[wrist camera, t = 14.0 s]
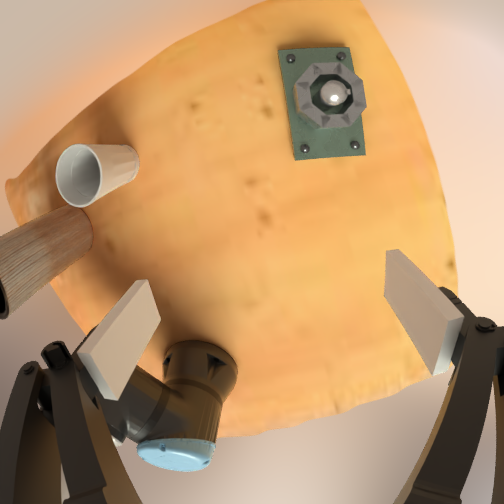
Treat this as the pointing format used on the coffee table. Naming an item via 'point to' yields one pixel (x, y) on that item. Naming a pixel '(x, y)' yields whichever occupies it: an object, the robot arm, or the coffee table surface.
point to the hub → (322, 75)
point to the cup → (94, 171)
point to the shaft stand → (320, 106)
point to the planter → (40, 253)
